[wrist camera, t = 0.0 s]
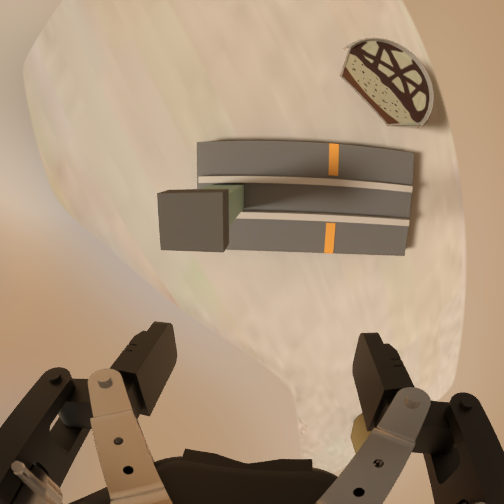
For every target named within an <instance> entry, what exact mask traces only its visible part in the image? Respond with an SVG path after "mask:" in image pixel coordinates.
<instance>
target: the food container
mask: <svg viewBox="0 0 504 504" xmlns="http://www.w3.org/2000/svg"><path fill="white" fill-rule="evenodd" d="M346 48H349V50H348V53H347V56H346V60H345V63H344V66H343V69H342V72H341V75H340V76H341V77H342V78H343V79H344V80H345V81H346V82H347V83H348V84H349V85H350V86H351V87H352V88H353V89H354V90H355V91H356V92H357V93H358V94H359V95H360V96H361V97H362V98H363V99H364V100H365V101H366V103H367V104H368V105H369V106H370V107H371V108H372V109H373V110H374V111H375V112H376V113H377V115H378V116H379V117H380V118H381V119H382V120H383V121H384V122H385V124H386V125H387V126H397V125H420V126H419V128H418V129H420V128H421V127H423V125H424V124H425V123H426V122H427V120H428V118H429V116H430V114H431V111H432V108H433V102H434V92H433V86H432V83H431V79H430V77H429V75H428V73H427V71H426V69H425V67H424V66H423V64H422V63H421V62H420V61H419V59H418V58H417V57H416V56H415V55H414V54H413V53H412V52H410V51H409V50H408V49H406V48H405V47H403V46H401V45H400V44H398V43H395V42H393V41H390V40H386V39H380V38H366V39H361V40H358V41H356V42H353V43H352V44H350V45H348V46H347V47H345V48H344V50H345V49H346Z"/></svg>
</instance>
